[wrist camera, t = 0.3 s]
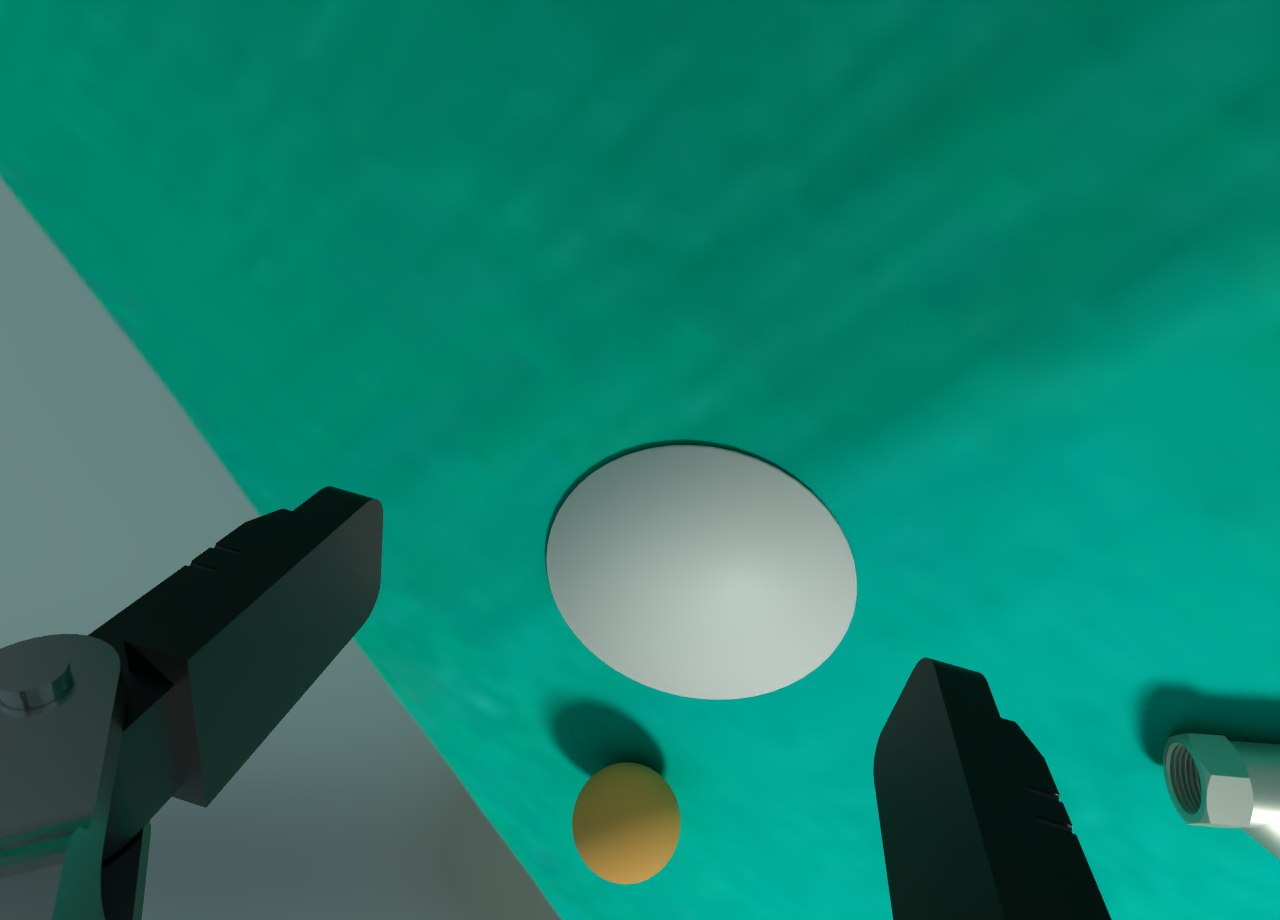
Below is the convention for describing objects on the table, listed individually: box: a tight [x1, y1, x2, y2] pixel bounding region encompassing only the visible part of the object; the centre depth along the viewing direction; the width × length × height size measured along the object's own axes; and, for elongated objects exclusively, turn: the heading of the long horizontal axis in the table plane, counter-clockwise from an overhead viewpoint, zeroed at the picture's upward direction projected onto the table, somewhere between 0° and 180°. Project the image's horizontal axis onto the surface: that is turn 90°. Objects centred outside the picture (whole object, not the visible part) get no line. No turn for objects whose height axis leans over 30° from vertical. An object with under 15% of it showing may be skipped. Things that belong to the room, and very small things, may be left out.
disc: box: [546, 445, 857, 700], centre depth 31 cm, size 14×14×1 cm
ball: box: [572, 762, 680, 884], centre depth 36 cm, size 6×6×6 cm
